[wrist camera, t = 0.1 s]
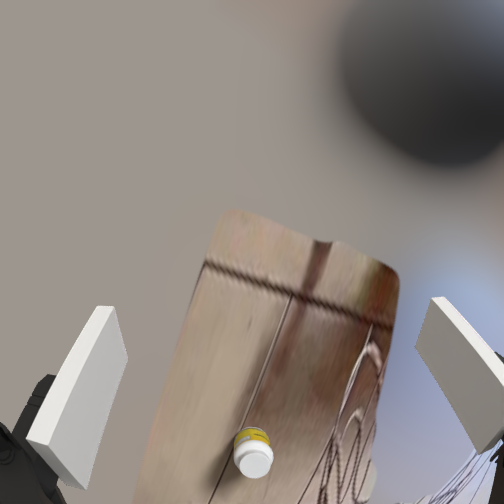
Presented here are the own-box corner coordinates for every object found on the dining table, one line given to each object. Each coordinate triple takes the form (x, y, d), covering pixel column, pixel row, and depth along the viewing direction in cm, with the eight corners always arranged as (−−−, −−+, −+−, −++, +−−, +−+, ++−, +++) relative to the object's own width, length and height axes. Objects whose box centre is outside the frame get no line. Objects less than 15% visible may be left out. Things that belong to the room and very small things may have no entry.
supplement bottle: (275, 444, 43) (284, 469, 34) (247, 461, 43) (249, 489, 33) (255, 419, 44) (260, 441, 35) (226, 437, 43) (224, 462, 34)
